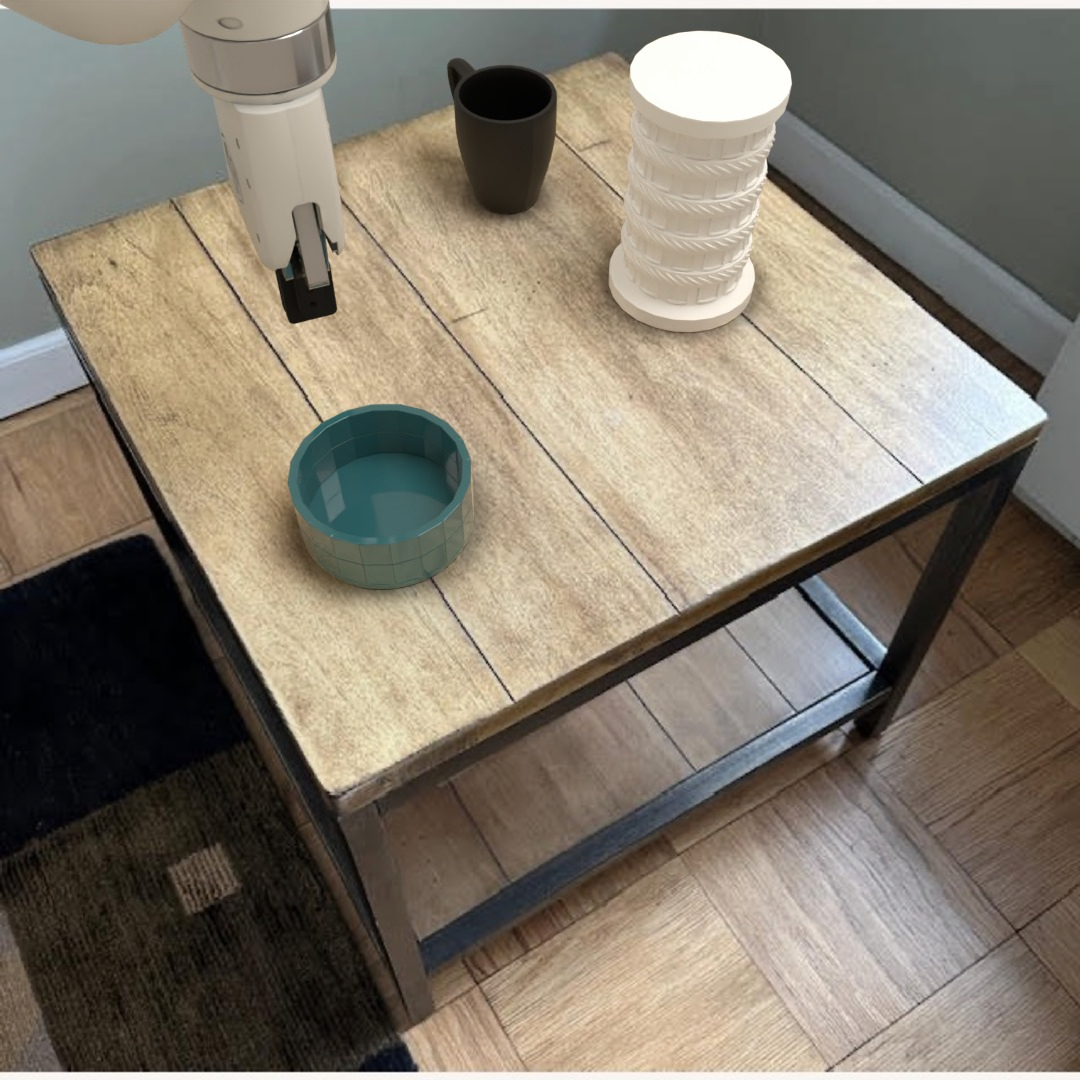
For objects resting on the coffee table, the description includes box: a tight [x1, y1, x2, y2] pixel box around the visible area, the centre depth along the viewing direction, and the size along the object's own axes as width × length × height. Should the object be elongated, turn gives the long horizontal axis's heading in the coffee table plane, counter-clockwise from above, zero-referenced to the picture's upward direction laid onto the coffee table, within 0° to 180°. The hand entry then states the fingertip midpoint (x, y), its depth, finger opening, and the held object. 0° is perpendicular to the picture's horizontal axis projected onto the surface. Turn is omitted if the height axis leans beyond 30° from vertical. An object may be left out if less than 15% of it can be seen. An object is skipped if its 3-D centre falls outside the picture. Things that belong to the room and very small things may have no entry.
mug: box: [446, 57, 558, 215], centre depth 91 cm, size 8×12×10 cm
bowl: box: [287, 403, 475, 590], centre depth 72 cm, size 12×12×5 cm
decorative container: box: [608, 30, 793, 333], centre depth 81 cm, size 12×12×18 cm
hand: (310, 310), depth 71 cm, fingers closed
